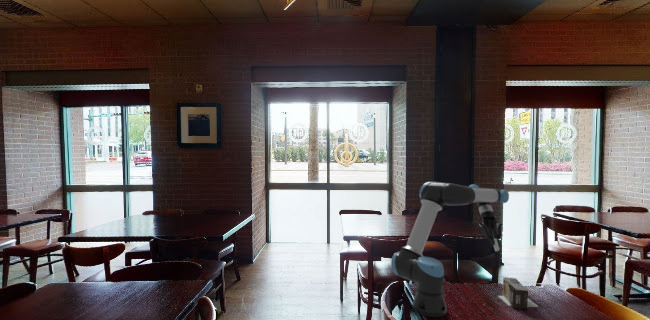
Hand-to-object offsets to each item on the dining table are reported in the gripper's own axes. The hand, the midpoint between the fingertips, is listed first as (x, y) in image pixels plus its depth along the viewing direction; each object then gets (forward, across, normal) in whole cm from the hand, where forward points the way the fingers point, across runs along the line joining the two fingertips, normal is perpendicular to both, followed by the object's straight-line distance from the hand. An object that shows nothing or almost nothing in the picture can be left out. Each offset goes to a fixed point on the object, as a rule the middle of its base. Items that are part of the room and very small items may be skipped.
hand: (497, 250), depth 183 cm
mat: (+28, -2, +1) cm, 28 cm away
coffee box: (+20, -1, -1) cm, 20 cm away
